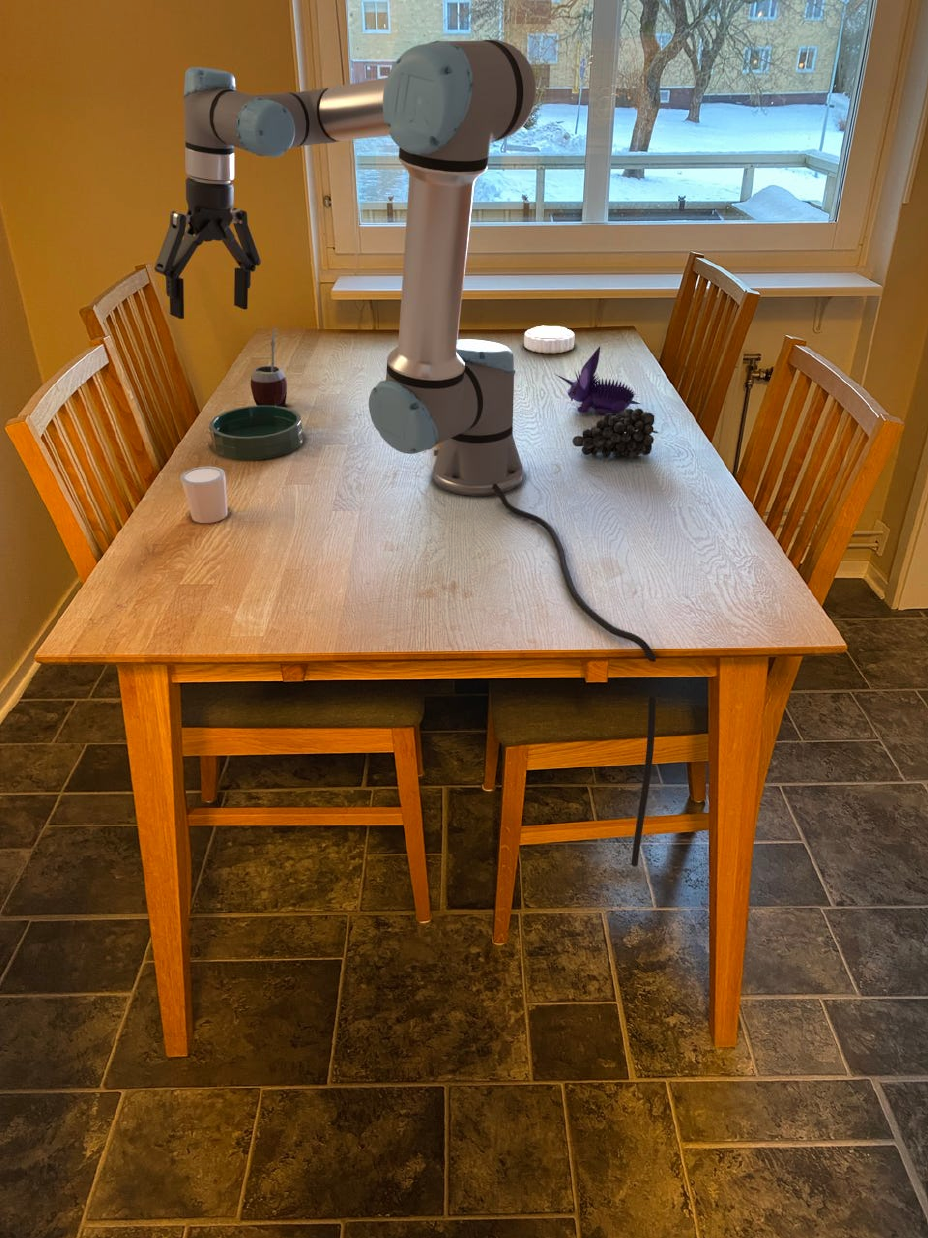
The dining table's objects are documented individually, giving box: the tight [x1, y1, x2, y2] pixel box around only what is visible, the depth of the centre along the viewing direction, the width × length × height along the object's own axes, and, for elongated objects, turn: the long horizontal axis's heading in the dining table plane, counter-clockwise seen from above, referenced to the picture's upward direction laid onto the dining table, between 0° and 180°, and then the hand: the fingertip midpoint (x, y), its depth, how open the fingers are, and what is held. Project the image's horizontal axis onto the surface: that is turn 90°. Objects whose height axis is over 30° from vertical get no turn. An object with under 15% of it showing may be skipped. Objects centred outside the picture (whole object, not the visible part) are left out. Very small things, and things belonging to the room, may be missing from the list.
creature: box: [554, 345, 642, 415], centre depth 184 cm, size 9×18×12 cm, turn 80°
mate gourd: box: [250, 326, 288, 408], centre depth 186 cm, size 8×8×15 cm
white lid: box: [523, 325, 576, 354], centre depth 222 cm, size 12×12×4 cm
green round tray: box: [209, 405, 304, 461], centre depth 173 cm, size 17×17×4 cm
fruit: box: [572, 408, 659, 459], centre depth 167 cm, size 9×8×15 cm
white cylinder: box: [179, 466, 229, 524], centre depth 147 cm, size 7×7×7 cm
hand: (209, 311), depth 162 cm, fingers open, 13 cm apart
